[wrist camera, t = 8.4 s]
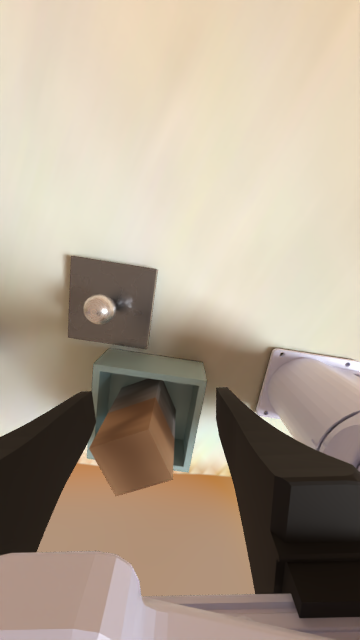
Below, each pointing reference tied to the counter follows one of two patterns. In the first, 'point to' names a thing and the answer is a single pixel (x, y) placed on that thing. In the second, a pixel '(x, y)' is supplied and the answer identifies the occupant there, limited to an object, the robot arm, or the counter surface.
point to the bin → (177, 374)
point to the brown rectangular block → (137, 438)
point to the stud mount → (111, 302)
